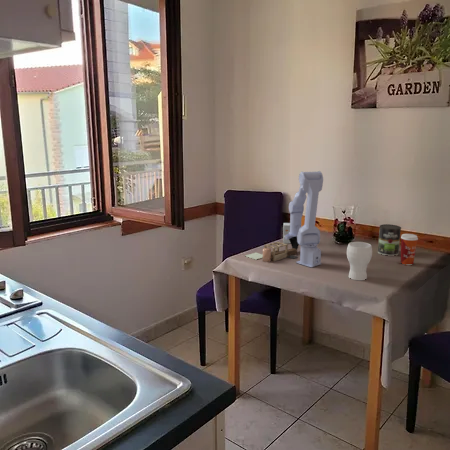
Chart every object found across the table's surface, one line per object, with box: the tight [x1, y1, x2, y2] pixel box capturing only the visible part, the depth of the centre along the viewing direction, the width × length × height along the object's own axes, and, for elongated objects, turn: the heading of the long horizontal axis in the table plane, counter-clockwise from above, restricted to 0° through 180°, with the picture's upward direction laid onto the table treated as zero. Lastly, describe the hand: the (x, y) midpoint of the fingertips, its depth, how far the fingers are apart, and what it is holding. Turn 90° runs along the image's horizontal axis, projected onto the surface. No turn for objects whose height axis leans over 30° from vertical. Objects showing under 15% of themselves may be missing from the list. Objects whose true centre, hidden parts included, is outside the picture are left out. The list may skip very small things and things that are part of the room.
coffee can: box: [377, 223, 402, 257], centre depth 233 cm, size 10×10×14 cm
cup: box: [346, 241, 373, 281], centre depth 198 cm, size 11×11×15 cm
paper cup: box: [400, 233, 419, 265], centre depth 216 cm, size 8×8×14 cm
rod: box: [271, 248, 298, 260], centre depth 230 cm, size 2×18×2 cm, turn 123°
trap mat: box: [286, 254, 299, 260], centre depth 228 cm, size 4×4×1 cm
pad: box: [244, 252, 263, 261], centre depth 230 cm, size 8×8×1 cm
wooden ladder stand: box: [264, 241, 289, 262], centre depth 227 cm, size 6×10×7 cm, turn 131°
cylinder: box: [262, 247, 272, 263], centre depth 223 cm, size 4×4×6 cm
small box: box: [282, 222, 291, 244], centre depth 254 cm, size 8×6×10 cm
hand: (294, 250), depth 237 cm, fingers closed
